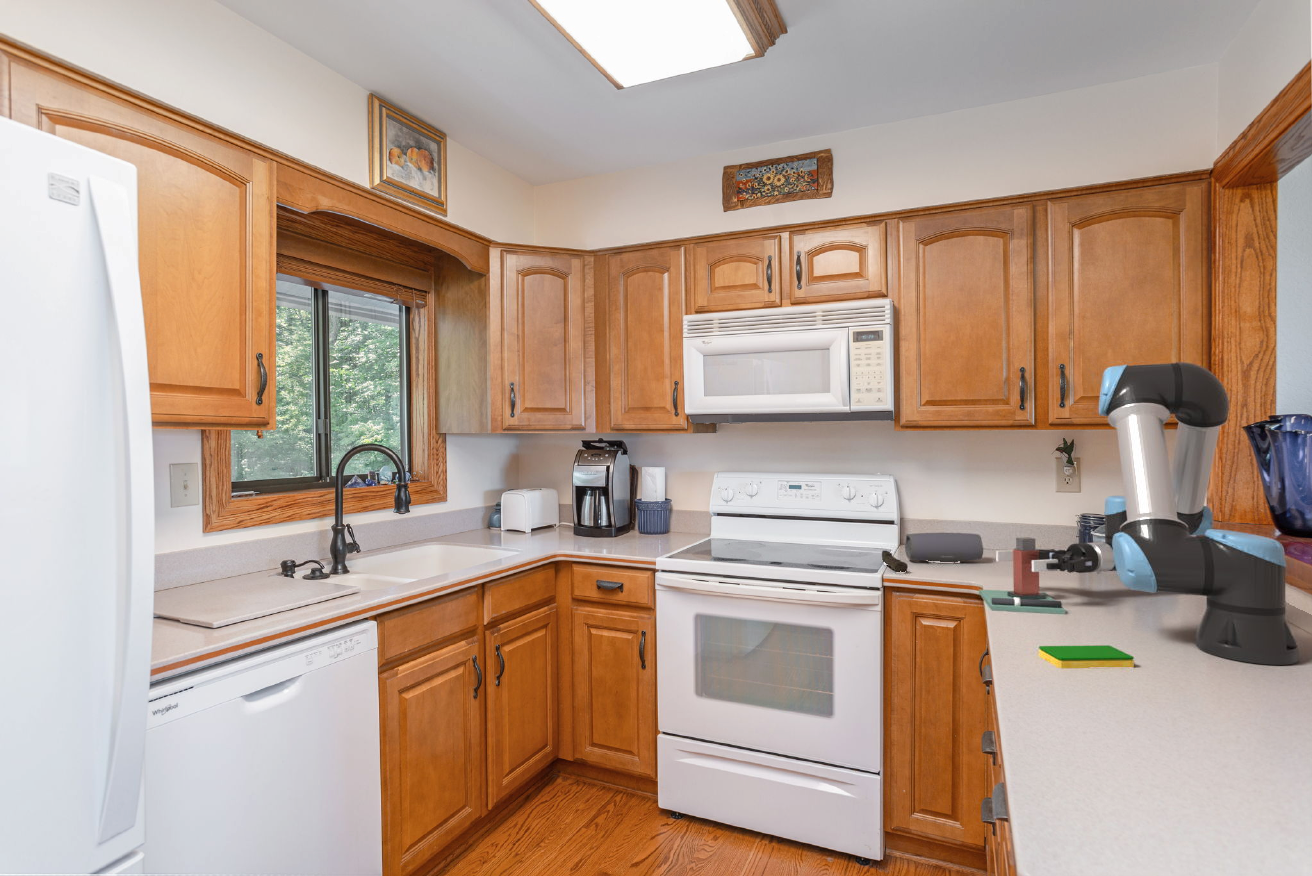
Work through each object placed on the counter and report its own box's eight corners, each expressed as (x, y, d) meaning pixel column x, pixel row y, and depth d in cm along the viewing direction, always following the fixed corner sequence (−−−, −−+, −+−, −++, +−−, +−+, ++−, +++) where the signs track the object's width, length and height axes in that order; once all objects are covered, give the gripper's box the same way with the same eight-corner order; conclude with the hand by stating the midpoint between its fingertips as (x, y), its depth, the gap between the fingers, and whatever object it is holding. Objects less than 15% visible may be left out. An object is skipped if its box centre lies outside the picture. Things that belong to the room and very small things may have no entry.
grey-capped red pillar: (1045, 599, 171) (1045, 539, 171) (1020, 600, 170) (1019, 540, 170) (1032, 594, 176) (1031, 536, 176) (1007, 596, 175) (1006, 537, 175)
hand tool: (908, 574, 209) (907, 559, 209) (894, 574, 209) (894, 559, 209) (891, 563, 228) (891, 549, 228) (879, 563, 228) (879, 549, 228)
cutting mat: (1065, 614, 161) (1065, 601, 161) (991, 610, 166) (991, 598, 166) (1045, 596, 178) (1045, 585, 178) (978, 593, 183) (978, 582, 183)
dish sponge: (1135, 670, 125) (1135, 656, 125) (1059, 670, 125) (1059, 657, 125) (1109, 657, 132) (1109, 644, 132) (1038, 658, 132) (1037, 645, 132)
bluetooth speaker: (973, 560, 230) (973, 530, 230) (984, 565, 220) (983, 534, 220) (904, 559, 232) (904, 530, 232) (912, 565, 223) (911, 534, 223)
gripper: (1129, 582, 164) (1049, 586, 160) (1054, 563, 188) (983, 566, 185) (1128, 551, 164) (1049, 554, 160) (1053, 536, 188) (983, 539, 185)
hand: (1014, 561), depth 173 cm, fingers open, 13 cm apart
